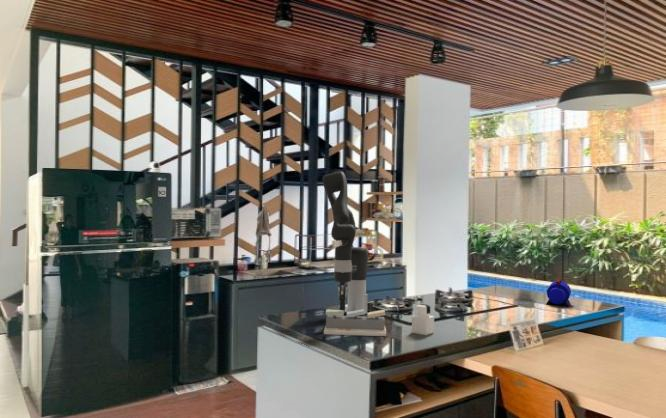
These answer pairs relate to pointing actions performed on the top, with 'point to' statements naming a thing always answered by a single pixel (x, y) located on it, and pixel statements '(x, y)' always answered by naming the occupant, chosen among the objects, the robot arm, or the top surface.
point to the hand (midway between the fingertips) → (342, 310)
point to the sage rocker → (335, 312)
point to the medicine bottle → (423, 320)
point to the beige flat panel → (376, 314)
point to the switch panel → (354, 332)
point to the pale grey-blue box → (355, 313)
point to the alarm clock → (559, 293)
